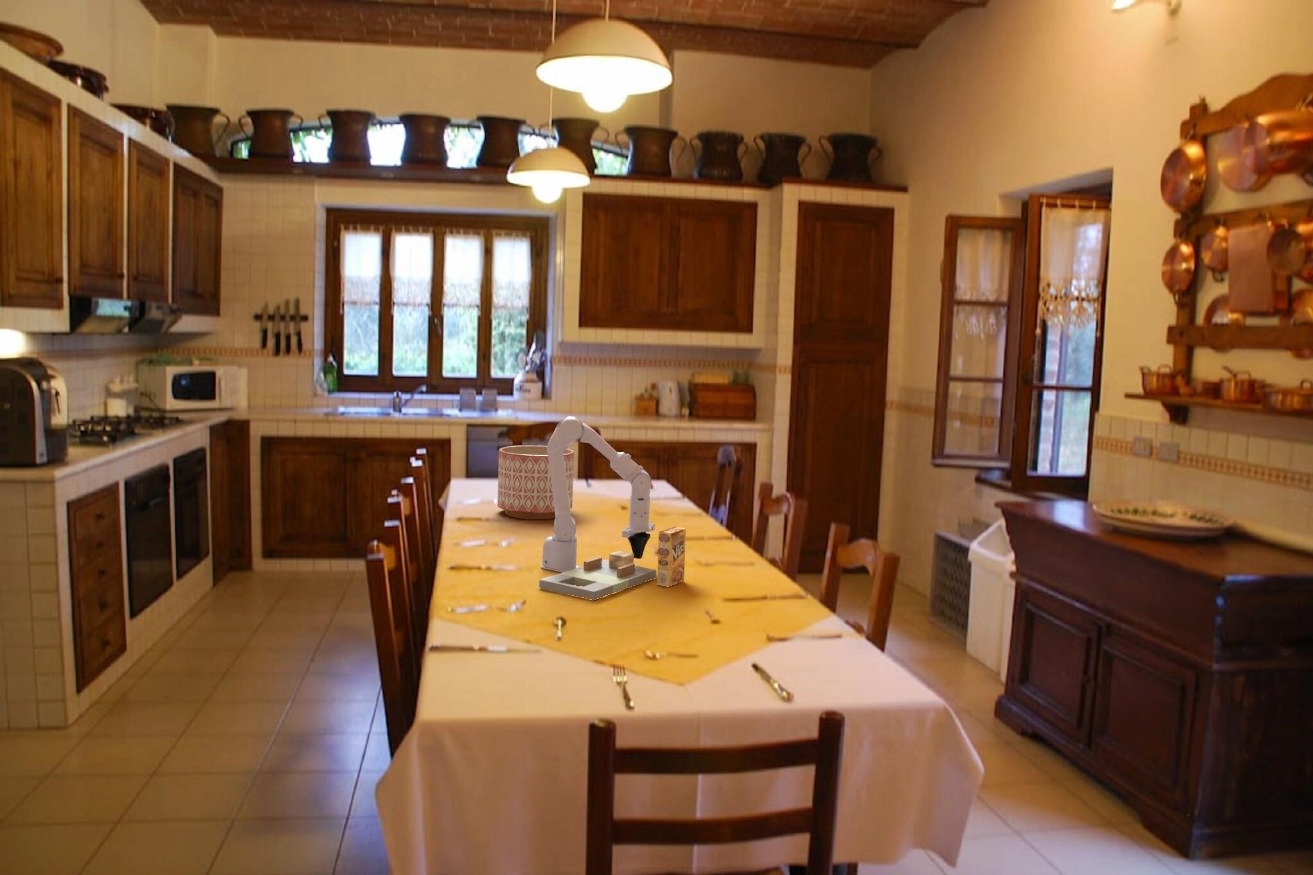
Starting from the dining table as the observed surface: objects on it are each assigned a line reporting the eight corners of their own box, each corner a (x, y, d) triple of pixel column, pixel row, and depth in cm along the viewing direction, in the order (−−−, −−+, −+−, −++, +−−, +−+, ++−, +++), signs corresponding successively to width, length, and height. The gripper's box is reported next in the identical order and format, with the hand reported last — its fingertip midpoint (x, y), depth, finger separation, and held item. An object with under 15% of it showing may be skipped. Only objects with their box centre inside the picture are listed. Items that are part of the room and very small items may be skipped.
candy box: (669, 588, 271) (671, 533, 269) (655, 585, 273) (658, 531, 271) (684, 581, 278) (687, 528, 277) (671, 579, 280) (673, 526, 279)
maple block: (608, 567, 280) (609, 553, 280) (618, 564, 285) (619, 550, 284) (623, 570, 278) (624, 556, 277) (633, 567, 282) (633, 553, 281)
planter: (488, 508, 372) (490, 445, 370) (557, 505, 384) (559, 444, 381) (509, 522, 348) (511, 456, 345) (582, 519, 359) (584, 454, 357)
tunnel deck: (539, 588, 265) (539, 570, 264) (604, 567, 290) (604, 551, 289) (593, 601, 255) (594, 582, 255) (656, 578, 280) (656, 561, 280)
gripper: (637, 517, 278) (635, 564, 280) (664, 510, 291) (662, 555, 292) (616, 514, 282) (614, 560, 284) (644, 507, 294) (642, 552, 296)
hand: (637, 558), depth 288 cm, fingers closed
